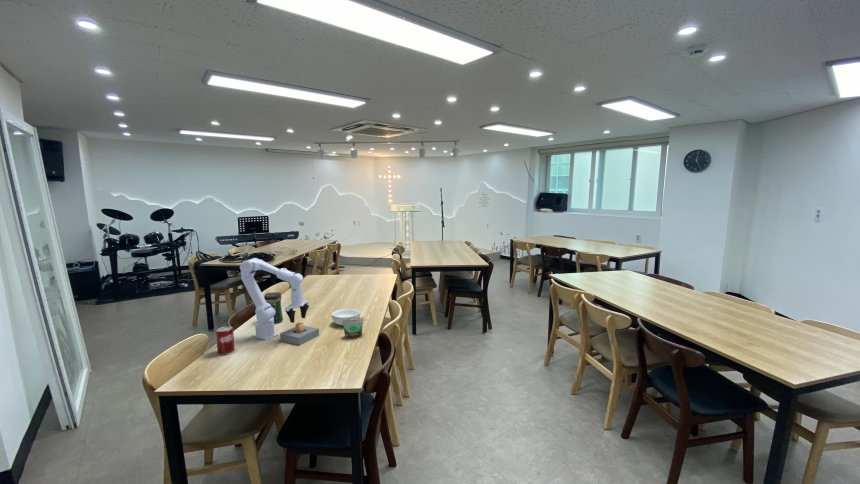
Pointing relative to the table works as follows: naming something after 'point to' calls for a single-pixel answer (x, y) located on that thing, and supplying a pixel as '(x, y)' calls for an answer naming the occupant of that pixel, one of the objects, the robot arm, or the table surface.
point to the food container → (353, 327)
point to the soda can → (225, 340)
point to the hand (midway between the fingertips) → (297, 320)
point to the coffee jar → (275, 305)
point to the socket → (299, 335)
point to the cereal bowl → (345, 315)
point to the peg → (299, 328)
